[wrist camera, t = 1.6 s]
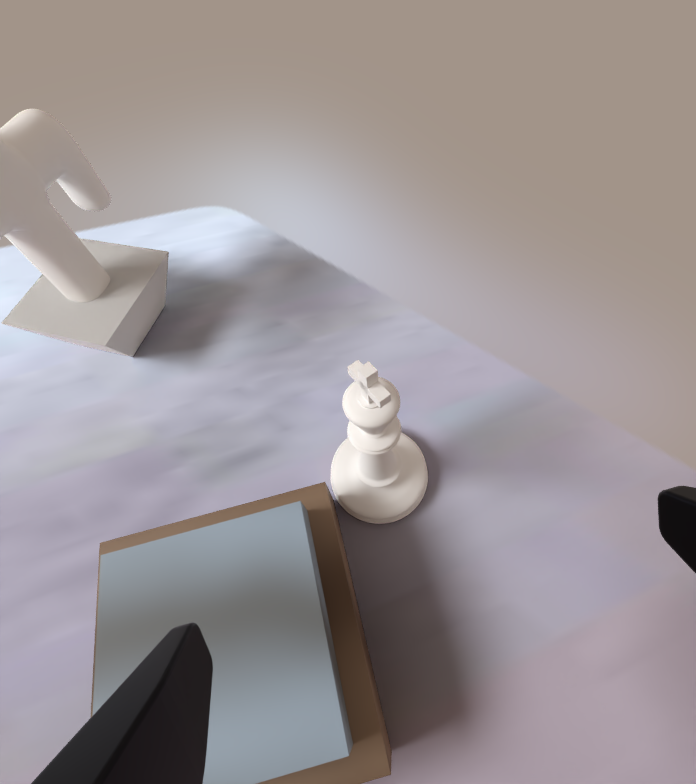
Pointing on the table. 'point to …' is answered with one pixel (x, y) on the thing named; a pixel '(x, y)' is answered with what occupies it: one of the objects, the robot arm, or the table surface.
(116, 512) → the table surface
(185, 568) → the stepped pedestal base
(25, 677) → the table surface
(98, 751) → the robot arm
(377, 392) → the chess piece
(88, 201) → the figurine
